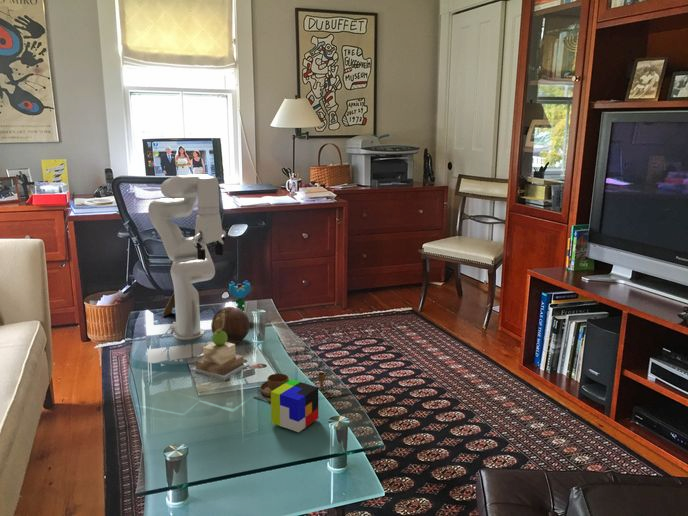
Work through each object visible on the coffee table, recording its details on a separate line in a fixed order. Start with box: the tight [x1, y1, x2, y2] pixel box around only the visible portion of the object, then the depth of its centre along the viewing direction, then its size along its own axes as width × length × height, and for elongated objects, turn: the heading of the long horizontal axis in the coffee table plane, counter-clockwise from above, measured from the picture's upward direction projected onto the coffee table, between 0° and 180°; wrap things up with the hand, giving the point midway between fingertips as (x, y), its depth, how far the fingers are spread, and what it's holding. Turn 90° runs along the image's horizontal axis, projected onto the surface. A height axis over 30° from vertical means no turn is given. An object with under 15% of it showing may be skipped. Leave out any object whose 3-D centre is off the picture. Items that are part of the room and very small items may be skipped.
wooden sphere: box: [210, 306, 250, 345], centre depth 233 cm, size 15×15×15 cm
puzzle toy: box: [270, 379, 319, 433], centre depth 172 cm, size 10×10×10 cm
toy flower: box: [228, 280, 251, 312], centre depth 259 cm, size 9×9×18 cm
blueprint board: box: [189, 362, 251, 380], centre depth 209 cm, size 16×14×1 cm
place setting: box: [253, 371, 326, 402], centre depth 191 cm, size 18×20×6 cm
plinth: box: [195, 342, 245, 376], centre depth 208 cm, size 12×12×8 cm
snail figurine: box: [211, 310, 227, 346], centre depth 207 cm, size 5×6×12 cm
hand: (210, 257), depth 213 cm, fingers open, 9 cm apart
